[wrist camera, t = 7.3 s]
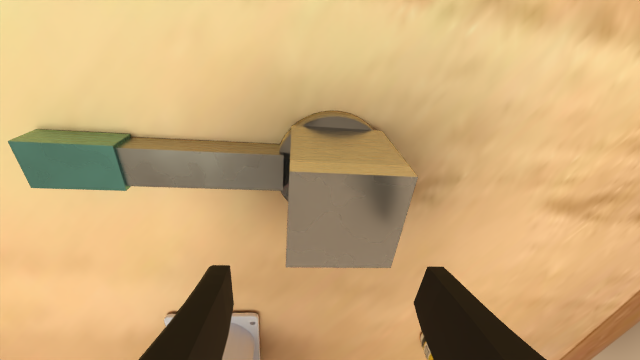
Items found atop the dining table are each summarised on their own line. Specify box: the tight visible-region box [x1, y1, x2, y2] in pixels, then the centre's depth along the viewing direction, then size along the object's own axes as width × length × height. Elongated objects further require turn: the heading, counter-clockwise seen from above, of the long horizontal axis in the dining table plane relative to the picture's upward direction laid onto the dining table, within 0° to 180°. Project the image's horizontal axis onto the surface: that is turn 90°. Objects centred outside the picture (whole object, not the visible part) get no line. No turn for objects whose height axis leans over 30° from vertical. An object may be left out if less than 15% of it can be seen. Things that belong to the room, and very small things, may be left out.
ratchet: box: [8, 111, 373, 201], centre depth 16 cm, size 7×20×4 cm, turn 85°
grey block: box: [286, 125, 418, 268], centre depth 15 cm, size 5×5×6 cm
